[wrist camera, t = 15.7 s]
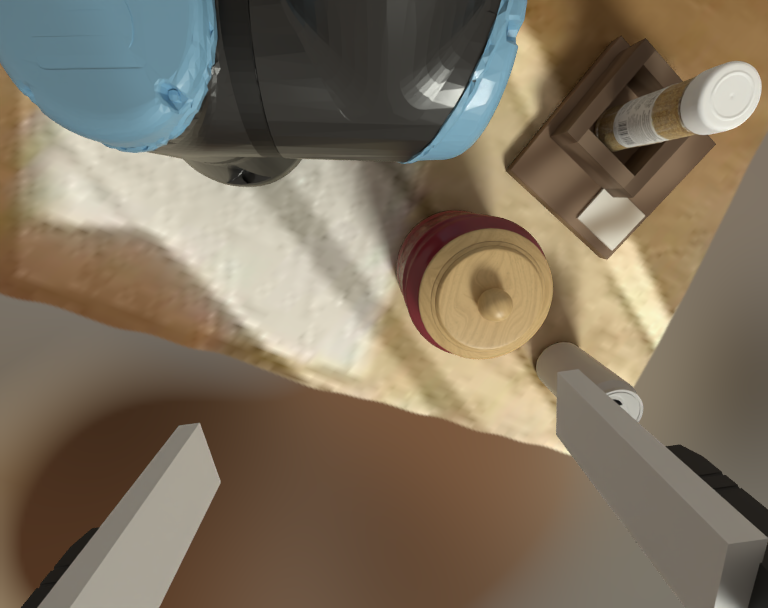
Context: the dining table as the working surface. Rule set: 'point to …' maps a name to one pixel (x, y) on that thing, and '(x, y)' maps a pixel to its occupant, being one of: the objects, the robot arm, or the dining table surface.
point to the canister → (474, 283)
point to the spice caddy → (606, 152)
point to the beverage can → (575, 358)
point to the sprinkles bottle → (684, 108)
